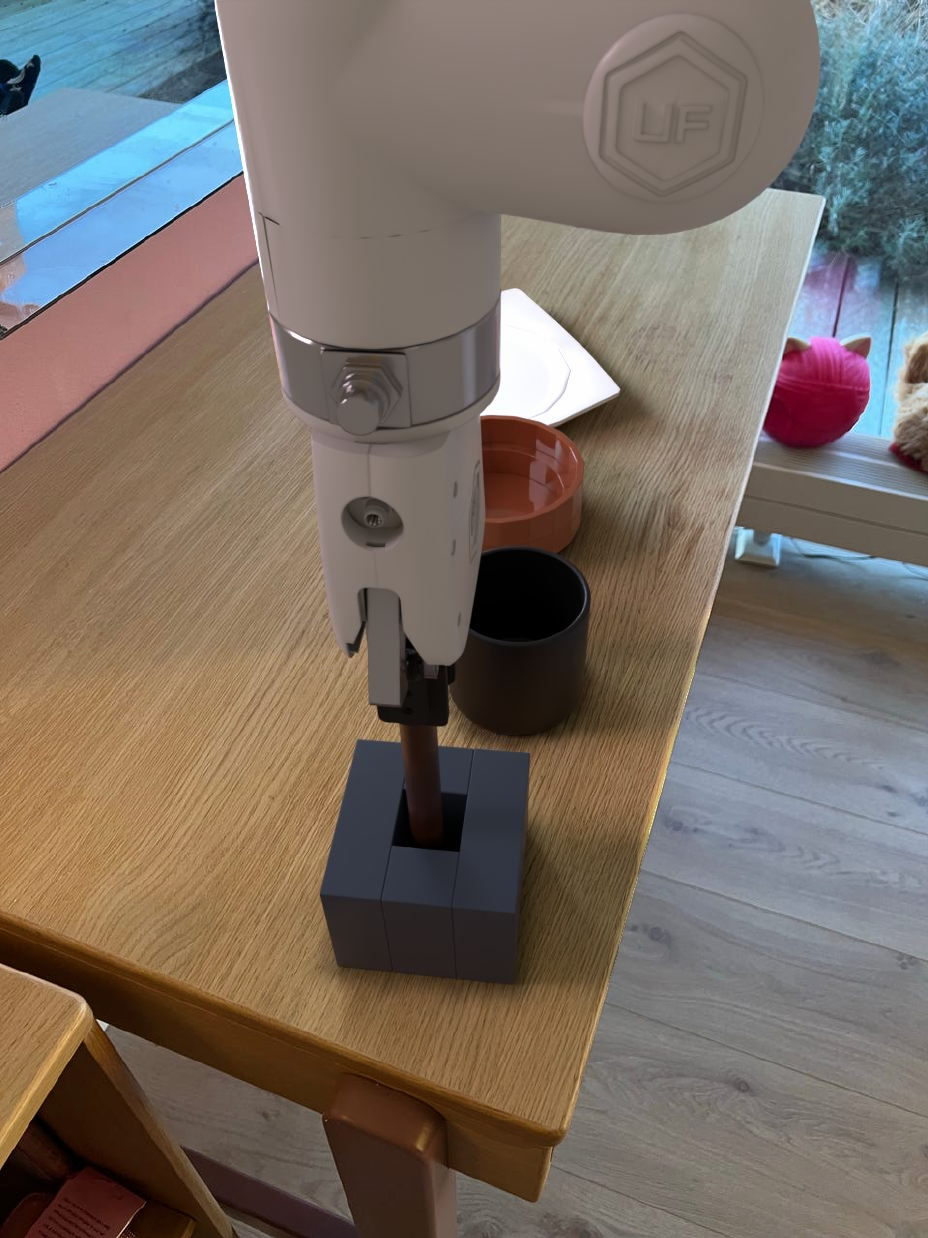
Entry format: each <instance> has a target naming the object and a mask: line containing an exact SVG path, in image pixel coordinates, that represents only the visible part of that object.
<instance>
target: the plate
mask: <svg viewBox="0 0 928 1238" xmlns="http://www.w3.org/2000/svg"><path fill="white" fill-rule="evenodd" d="M620 393H621V388H620V387H619V386H618V384H617V383H616V382H615V381H614V379H612V377H611V376H610V375H609V374H608V373H607V372H606V370H604V369H603V367H602V365H600V364H599V363H598V362H597V360H596V358H594V357H593V356H592V355H591V354H590V353H589V352H588V350H586V349H585V348H584V347H583V346H582V345H581V344H580V343H579V341H578V340H577V339H576V338H574V336H572V335H571V333H569V332H568V331H567V330H566V329H565V328H564V327H563V326H562V325H560V323H558V322H557V321H556V320H555V319H554V318H553V317H552V316H551V315H550V314H548V313H547V312H546V310H544V309H543V308H542V307H540V305H538V304H537V303H536V302H535V301H534V300H533V299H532V298H530V297H529V296H528V295H527V294H526V293H525V292H524V291H522V290H521V289H520V288H515V287H514V288H509V289H505V290H501V363H500V386H499V390H498V393H497V394H496V396H495V398H494V400H493V401H492V403H491V404H490V405H489V406H487V408H486V409H485V410H484V411H483V412H482V413H481V414H480V416H484V415H505V416H518V417H522V418H526V419H531V420H535V421H539V422H542V423H544V424H546V425H548V426H550V427H552V428H554V429H555V428H557V427H559V426H561V425H563V424H565V423H567V422H569V421H572V420H573V419H575V418H577V417H579V416H581V415H583V414H585V413H587V412H589V411H591V410H593V409H595V408H597V407H600V406H601V405H603V404H606V403H608V402H609V401H611V400H614V399H615V398H617V397H619V395H620Z"/></svg>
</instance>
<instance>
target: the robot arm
mask: <svg viewBox="0 0 928 1238" xmlns="http://www.w3.org/2000/svg"><path fill="white" fill-rule="evenodd" d="M214 6H215V14H216V19H217V26H218V30H219V36H220V42H221V48H222V54H223V59H224V66H225V71H226V72H225V73H226V77H227V82H228V89H229V95H230V101H231V106H232V113H233V117H234V122H235V123H234V124H235V129H236V134H237V141H238V145H239V152H240V157H241V164H242V169H243V175H244V180H245V185H246V191H247V192H246V193H247V197H248V202H249V208H250V214H251V219H252V226H253V231H254V232H253V233H254V237H255V242H256V248H257V253H258V258H259V265H260V270H261V278H262V282H263V286H264V293H265V294H264V295H265V300H266V303H267V311H268V317H269V318H268V319H269V323H270V329H271V334H272V335H271V336H272V340H273V346H274V352H275V356H276V364H277V369H278V375H279V379H280V386H281V393H282V397H283V401H284V403H285V405H286V406H287V408H288V410H289V411H290V412H291V413H292V415H293V416H294V417H295V418H296V419H298V420H299V421H300V422H301V423H304V425H306V426H307V427H309V428H310V441H311V445H310V446H311V460H312V461H311V462H312V472H313V473H312V475H313V478H312V486H313V488H314V498H315V499H314V500H315V511H316V521H317V531H318V540H319V551H320V559H321V569H322V573H323V583H324V590H325V597H326V603H327V609H328V614H329V618H330V624H331V627H332V633H333V637H334V639H335V643H336V644H337V646H338V648H339V649H340V651H341V652H342V653H343V654H344V655H345V656H346V657H347V658H349V659H352V658H353V657H354V656H355V654H359V652H360V648H361V645H362V641H363V637H364V633H365V636H366V644H367V676H368V677H367V682H368V683H367V685H368V687H367V688H368V690H367V691H368V693H367V694H368V704H369V706H374V707H376V712H377V718H378V719H379V720H380V721H381V722H384V723H387V724H388V723H390V724H398V725H399V724H401V725H409V726H420V725H424V726H437V728H439V727H440V728H442V727H446V726H447V725H448V724H449V718H450V700H449V685H450V684H451V683H453V682H454V681H455V676H456V661H457V660H458V658H459V657H460V656H461V655H462V653H463V651H464V648H465V644H466V640H467V635H468V630H469V624H470V619H471V613H472V607H473V601H474V595H475V589H476V583H477V577H478V570H479V564H480V557H481V550H482V544H483V536H484V527H485V495H484V478H483V461H482V441H481V420H480V414H481V413H482V412H483V411H484V410H485V409H486V408H487V406H489V405H490V404H491V403H492V401H493V400H494V398H495V396H496V394H497V393H498V390H499V386H500V363H501V292H502V288H501V287H502V286H501V284H502V216H504V215H505V216H510V217H516V218H522V219H528V220H534V221H539V222H543V223H549V224H555V225H559V226H565V227H571V228H575V229H581V230H586V231H594V232H598V233H610V234H616V235H617V234H619V235H625V236H626V235H628V236H662V235H663V236H664V235H670V234H677V233H682V232H686V231H692V230H695V229H696V230H697V229H699V228H704V227H706V226H709V225H712V224H714V223H716V222H719V221H722V220H724V219H725V218H727V217H729V216H731V215H732V214H734V213H736V212H738V211H739V210H741V209H743V208H744V207H746V206H748V205H749V204H750V203H751V202H753V201H754V200H756V199H757V198H758V197H760V196H761V195H762V193H764V191H766V190H767V189H768V188H769V187H770V186H771V185H772V184H773V183H774V182H775V181H776V180H777V179H778V178H779V176H780V175H781V174H782V173H783V171H784V170H785V168H786V167H787V166H788V165H789V164H790V163H791V161H792V159H793V157H794V156H795V154H796V152H797V150H798V148H799V147H800V145H801V144H802V141H803V139H804V137H805V135H806V132H807V130H808V127H809V125H810V122H811V120H812V117H813V113H814V110H815V107H816V102H817V97H818V92H819V85H820V79H821V47H820V46H821V45H820V37H819V36H820V35H819V28H818V23H817V20H816V16H815V12H814V9H813V5H812V3H811V0H214ZM405 640H408V641H410V642H411V643H412V645H413V646H414V648H415V649H412V648H405Z"/></svg>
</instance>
